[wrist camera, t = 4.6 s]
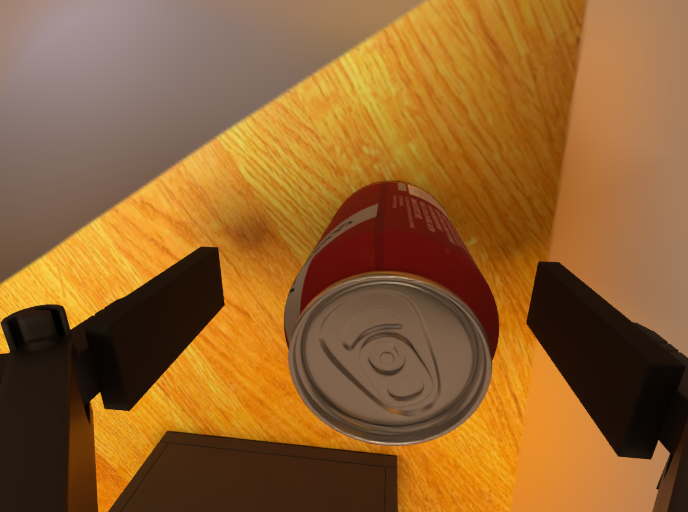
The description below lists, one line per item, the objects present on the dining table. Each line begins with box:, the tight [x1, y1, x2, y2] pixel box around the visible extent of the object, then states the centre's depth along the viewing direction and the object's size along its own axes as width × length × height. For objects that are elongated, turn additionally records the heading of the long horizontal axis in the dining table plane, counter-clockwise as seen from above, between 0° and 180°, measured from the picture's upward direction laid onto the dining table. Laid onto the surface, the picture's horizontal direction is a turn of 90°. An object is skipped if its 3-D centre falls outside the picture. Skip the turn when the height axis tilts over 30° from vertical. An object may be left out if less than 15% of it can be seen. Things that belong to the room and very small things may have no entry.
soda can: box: [284, 181, 499, 446], centre depth 16 cm, size 7×7×12 cm
